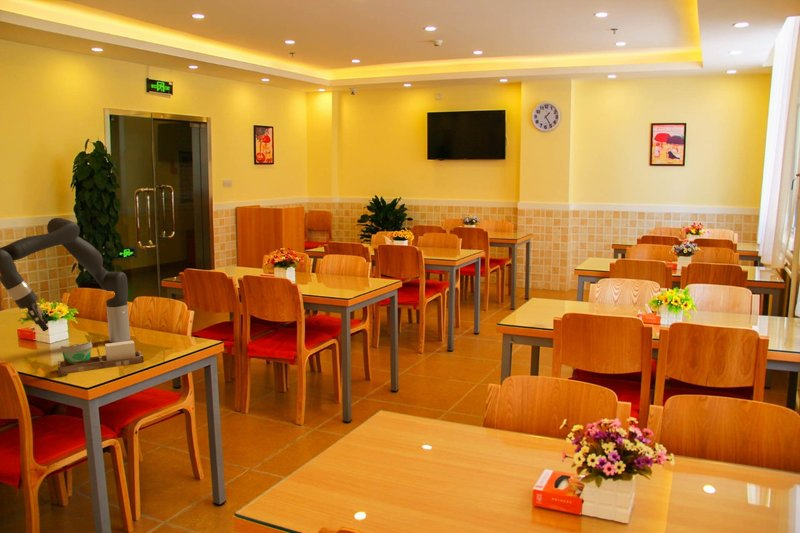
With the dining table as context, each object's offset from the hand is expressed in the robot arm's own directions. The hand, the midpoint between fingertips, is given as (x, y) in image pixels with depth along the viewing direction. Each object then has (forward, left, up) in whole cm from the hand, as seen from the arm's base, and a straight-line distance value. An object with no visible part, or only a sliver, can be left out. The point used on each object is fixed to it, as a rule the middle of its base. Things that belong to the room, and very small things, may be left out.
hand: (46, 326), depth 277 cm
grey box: (+4, +26, -18) cm, 32 cm away
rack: (+4, +19, -19) cm, 27 cm away
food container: (+5, +11, -18) cm, 22 cm away
